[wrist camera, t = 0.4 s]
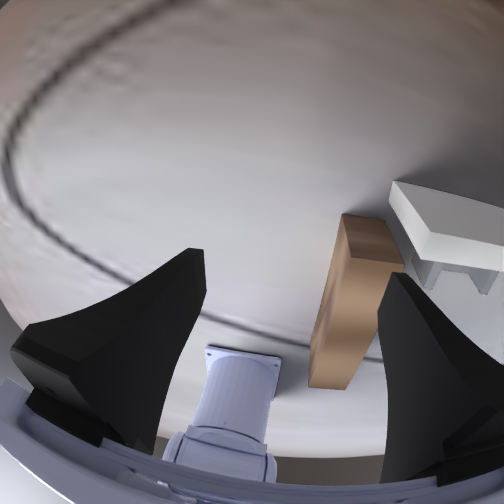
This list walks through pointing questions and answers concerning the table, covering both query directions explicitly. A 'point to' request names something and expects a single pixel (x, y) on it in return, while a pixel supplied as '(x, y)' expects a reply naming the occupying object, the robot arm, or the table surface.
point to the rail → (351, 300)
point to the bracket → (450, 234)
